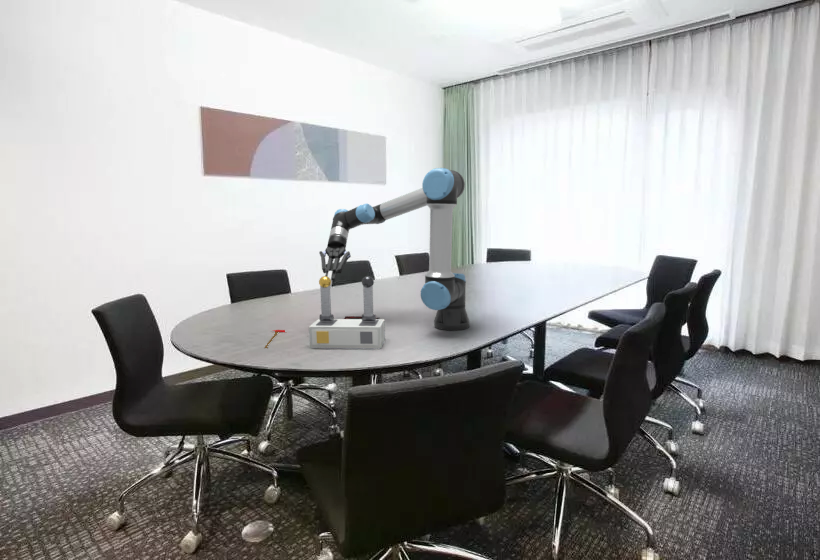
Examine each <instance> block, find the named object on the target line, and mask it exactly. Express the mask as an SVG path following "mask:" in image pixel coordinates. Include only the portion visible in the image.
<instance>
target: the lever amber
mask: <svg viewBox="0 0 820 560" xmlns="http://www.w3.org/2000/svg"><path fill="white" fill-rule="evenodd" d="M318 284H319V287H320V288H319V289H320V309H321V310H320V311H321V314H319V318H318V319H320V321H333V320H334V319H335V318H334V317H335V315H334V314H332V304H331V303H332V299H331V288H330V285H331V280H330V278H329V277H327V276H325V275H323V276H321V277H320V278H319V279H318Z"/></svg>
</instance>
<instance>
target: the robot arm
mask: <svg viewBox="0 0 820 560" xmlns="http://www.w3.org/2000/svg"><path fill="white" fill-rule="evenodd" d="M465 185H466V181H465V179H464V177H463V176H462V175H461V174H460V173H459V172H458V171H456V170H452V169H448V168H445V167H438V168H437V167H436V168H433V169H430V170H429V171H428V172H427V173H426V174H425V175H424V177H423V180H422V185H421V187H422V188H419V189H416V190H413V191H411V192H408V193H406V194H403V195H401V196H398V197H395V198H393V199H392V198H391V199H390V200H387V201H385V202H382V203H380V204H377V205H375V206H372V205H371V204H369V203H363V204H360V205H358V206H355V207H354V208H351V209H349V210H348V209H346V208H339V209H337V210H336V211H335V212H334V215H333V217H332V223H331V228H330V233H329V237H328V241H327V246H326V248H325V250H324V251H322V250H321V251H319V256H320V260H321V271H322V272H323V274H325V275H324V276H327V277H329V278H330V280H331V285H330V289H332V285H333V281H335V280H336V276H337V274H342V272H343V270H344V268H345V266H346V265H347V262H348V260H349V259H350V258H351V257H352V256H351V253H350V252H351V251H347V250H346V248H347V243H348V237H349V233H350V230H352V229H355V228H357V227H359V226H363V225H379V224H382V223H385V221H388V220H390V219H394V218H396V217H398V216H401V215H403V214H407V213H410V212H412V211H415V210H419V209H421V208H424V207H428V208H429V210H430V212H429V215H430V216H429V224H430V225H429V253H428V254H429V256H428V257H429V259H428V260H429V261H428V262H429V264H428V271H427V272H426V273H425V275H424V284H423V286H422V287H421V290H420V298H421V301H422V303H423V304H424V306H426V307H427V308H428V309H430V310H433V311H436V313H435V314H436V315H434V316H435V317H434V321H433V327H434V328H437V329H439V330H443V331H444V330H445V331H460V330H465V329H468V328H470V319H469V316H468V312H467V308H466V283H467V280H466V275H465V274H464V273H456V272H453V271H452V251H453V250H452V247H453V246H452V244H453V214H454V213H453V211H454V208H456V206H457V205H458V198H459V197H461V195H462V194H463V193H464V191H465V187H466V186H465ZM326 255H327V256H328V259H327V264H326Z"/></svg>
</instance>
